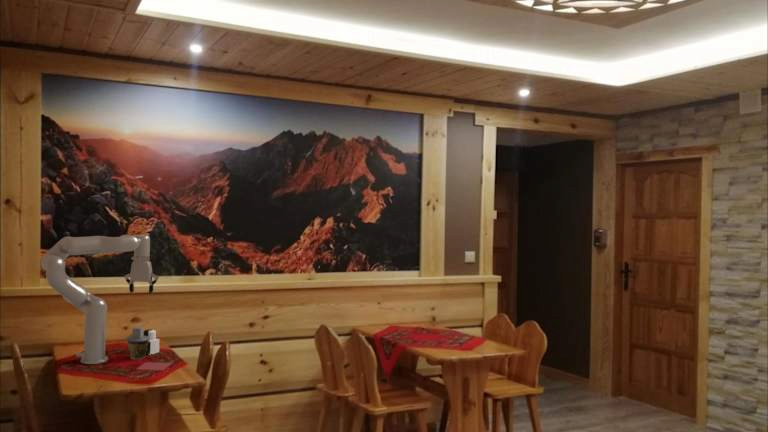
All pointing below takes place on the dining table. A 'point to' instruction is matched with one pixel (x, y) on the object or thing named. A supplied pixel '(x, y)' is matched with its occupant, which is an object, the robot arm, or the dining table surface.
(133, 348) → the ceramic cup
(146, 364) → the mat
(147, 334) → the medicine bottle
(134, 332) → the lid
